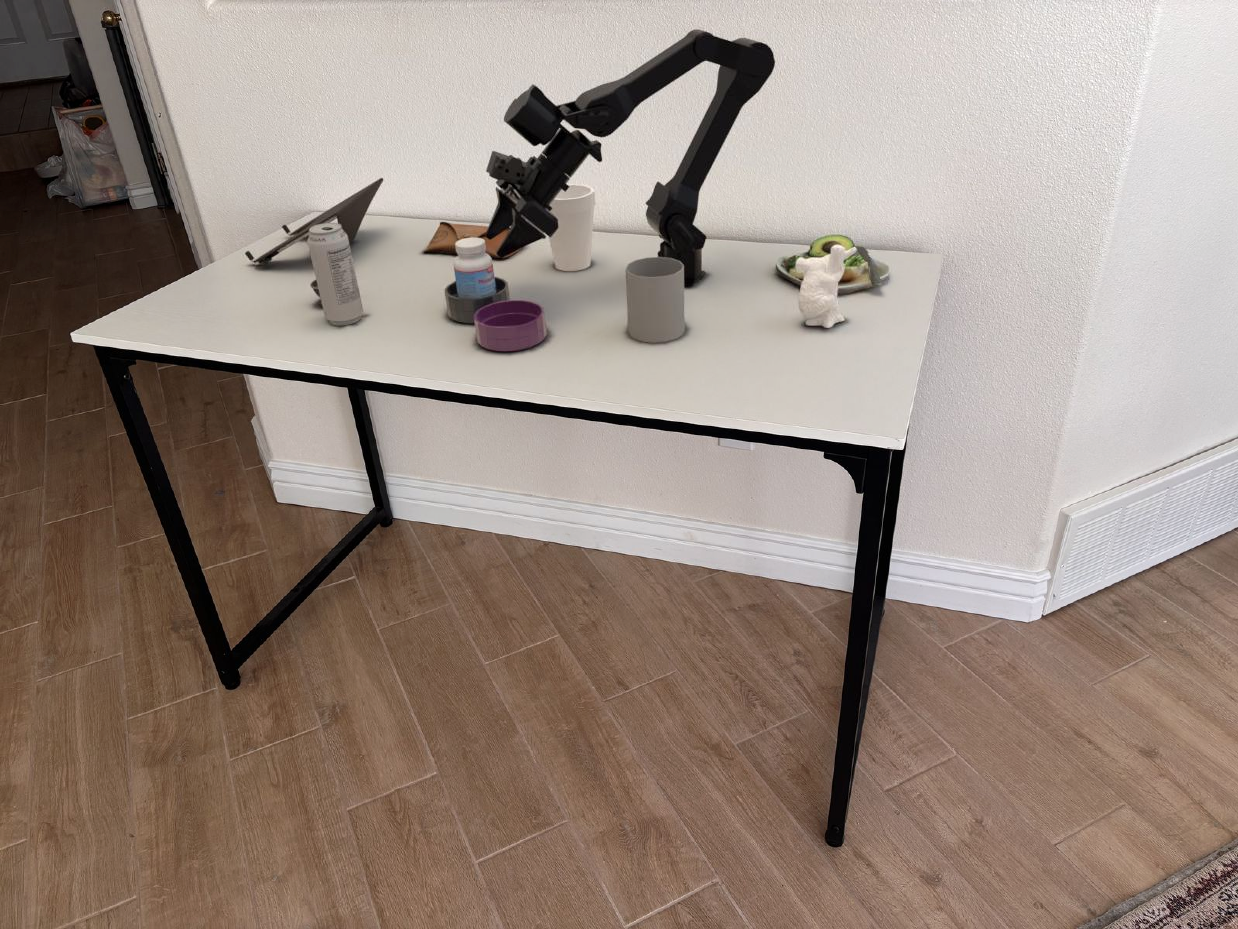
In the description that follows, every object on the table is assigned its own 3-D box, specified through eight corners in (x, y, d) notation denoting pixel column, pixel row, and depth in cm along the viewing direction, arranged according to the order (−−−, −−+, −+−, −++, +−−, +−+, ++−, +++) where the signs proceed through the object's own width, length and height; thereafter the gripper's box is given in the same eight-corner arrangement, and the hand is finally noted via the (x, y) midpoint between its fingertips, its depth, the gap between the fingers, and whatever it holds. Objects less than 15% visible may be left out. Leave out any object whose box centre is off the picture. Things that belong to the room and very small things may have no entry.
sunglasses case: (419, 251, 174) (424, 215, 173) (438, 258, 180) (443, 224, 180) (505, 258, 168) (510, 221, 167) (521, 266, 174) (526, 230, 174)
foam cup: (609, 265, 164) (604, 191, 157) (564, 278, 159) (558, 203, 152) (580, 252, 170) (575, 180, 163) (537, 264, 166) (529, 191, 159)
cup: (645, 347, 134) (642, 281, 129) (618, 328, 140) (615, 264, 135) (695, 333, 137) (694, 269, 132) (667, 315, 143) (665, 253, 138)
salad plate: (921, 286, 148) (925, 258, 146) (826, 307, 143) (828, 279, 140) (850, 251, 164) (852, 225, 161) (762, 269, 158) (763, 243, 156)
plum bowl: (559, 329, 141) (556, 304, 139) (523, 357, 133) (520, 331, 131) (501, 320, 145) (498, 296, 143) (463, 346, 137) (460, 321, 135)
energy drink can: (347, 309, 152) (327, 219, 144) (372, 316, 149) (353, 224, 141) (318, 322, 148) (296, 230, 140) (343, 329, 145) (322, 236, 137)
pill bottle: (491, 318, 145) (482, 248, 139) (455, 317, 146) (444, 248, 140) (503, 303, 150) (495, 235, 144) (467, 302, 151) (458, 235, 145)
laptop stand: (317, 259, 192) (289, 220, 189) (403, 209, 184) (376, 167, 180) (267, 301, 173) (235, 259, 169) (360, 248, 165) (328, 202, 161)
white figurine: (850, 315, 140) (857, 238, 134) (850, 333, 134) (857, 253, 128) (794, 313, 142) (798, 236, 135) (791, 331, 136) (795, 252, 130)
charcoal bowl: (522, 304, 150) (519, 280, 148) (488, 328, 143) (485, 302, 140) (471, 296, 154) (468, 272, 152) (435, 319, 147) (431, 294, 144)
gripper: (502, 118, 144) (442, 199, 147) (529, 144, 129) (461, 233, 132) (555, 164, 150) (496, 240, 153) (587, 193, 135) (520, 277, 138)
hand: (492, 246), depth 144 cm, fingers open, 9 cm apart
